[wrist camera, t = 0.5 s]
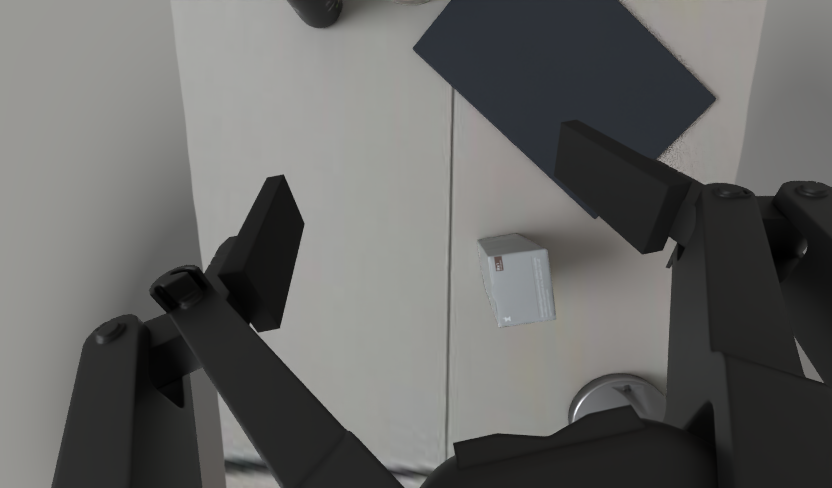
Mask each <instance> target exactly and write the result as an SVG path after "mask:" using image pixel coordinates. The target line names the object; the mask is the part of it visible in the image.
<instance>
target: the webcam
mask: <svg viewBox="0 0 832 488" xmlns="http://www.w3.org/2000/svg"><path fill="white" fill-rule="evenodd" d="M391 1H393V2H396V3H399V4H403V5H419V4H423V3H426V2H428V1H430V0H391Z"/></svg>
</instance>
